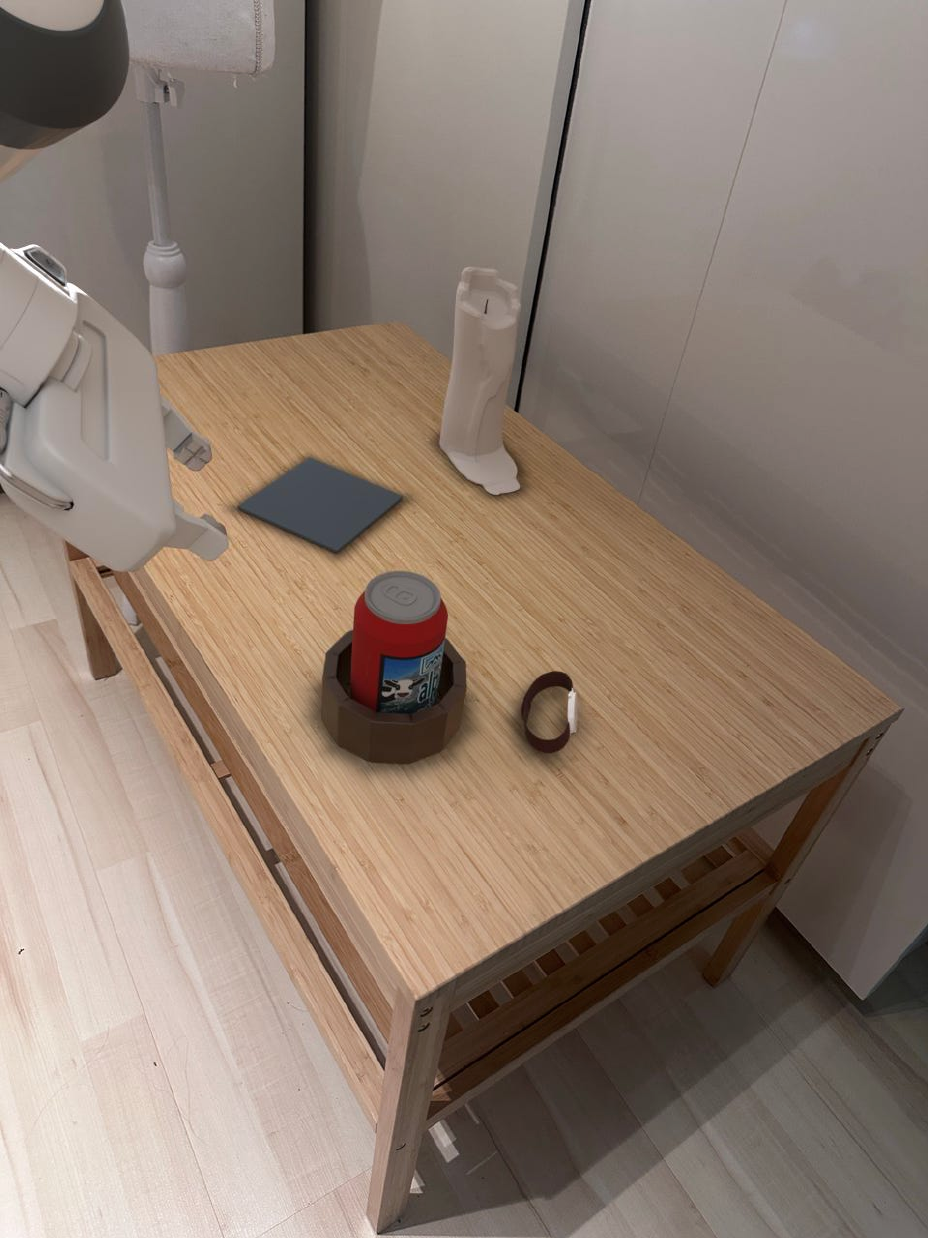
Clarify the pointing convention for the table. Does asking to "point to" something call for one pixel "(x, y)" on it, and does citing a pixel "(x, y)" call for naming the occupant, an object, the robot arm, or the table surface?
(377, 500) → the mat
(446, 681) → the faceted ring
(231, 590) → the table surface
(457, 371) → the candle
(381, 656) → the beverage can
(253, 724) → the table surface
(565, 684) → the watch
